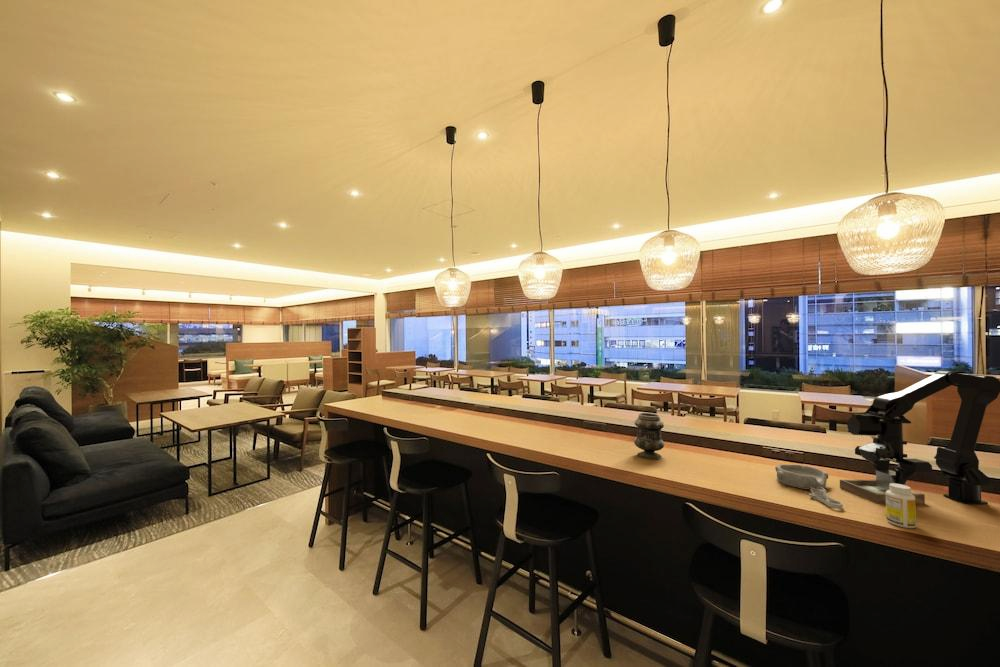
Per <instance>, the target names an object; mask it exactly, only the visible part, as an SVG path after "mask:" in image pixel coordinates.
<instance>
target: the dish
mask: <svg viewBox="0 0 1000 667" xmlns="http://www.w3.org/2000/svg"><path fill="white" fill-rule="evenodd" d="M774 468H775V472H776V478H777V480H778V482H780V483H781V484H784V485H787V486H790V487H794V488H798V489H802V490H803V489H804V490H810V486H811V487H812V488H815V489H816V488H817V486H819V487H822V488H824V489H825V487H826V486H827V480H828V479H829V473H828V472H826V471H824V470H822V469H819V468H816V467H813V466H808V465H801V464H779V465H776V466H775V467H774Z"/></svg>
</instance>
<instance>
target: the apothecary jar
mask: <svg viewBox="0 0 1000 667" xmlns="http://www.w3.org/2000/svg"><path fill="white" fill-rule="evenodd" d="M634 426H636V427H637V433H636V434H637V435H636V437H635V439H634V440H633V442H634V445H635V446H636V447H637V448H639V449H641V450H643V451H640V452H637V454H636V456H637V457H639V458H641V459H645V460H653V461H654V460H660V459H662V455H661V454H660V453H657V451H661V450H662V449H663V448H664V447H665V443H664V440H663V439H662V429H663V428H664V426H665V424H664V422H663V420H662V419H661V416H660V415H659V414H658V413H651V412H639V413H638V417H637V418H636V419H635V420H634Z"/></svg>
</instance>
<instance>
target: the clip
mask: <svg viewBox="0 0 1000 667" xmlns="http://www.w3.org/2000/svg"><path fill="white" fill-rule="evenodd" d="M875 480H876V486H878V487H881V488H884V489H886V490H890V488H889V484H891V483H896V472H895V470H890V469H888V470H876V469H875ZM904 485H905V486H907V482H906V483H905V484H904Z"/></svg>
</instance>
